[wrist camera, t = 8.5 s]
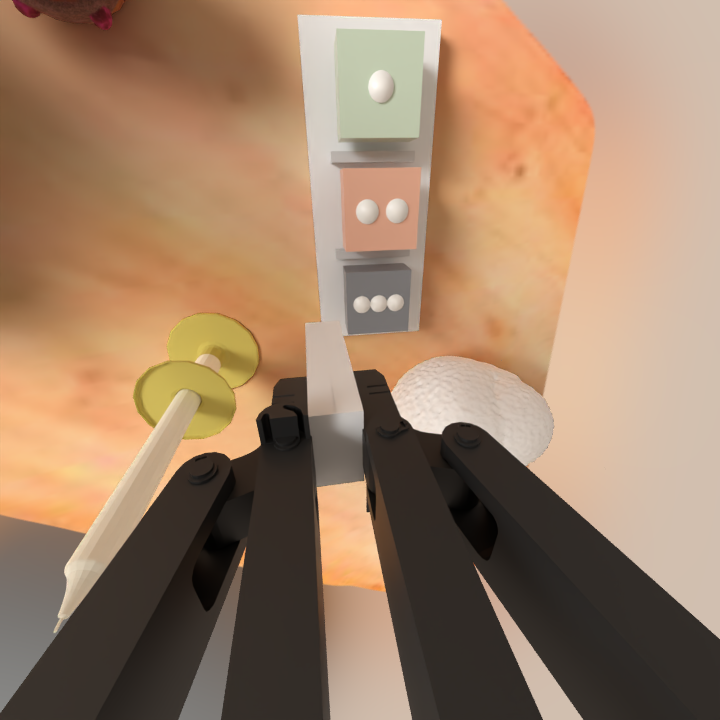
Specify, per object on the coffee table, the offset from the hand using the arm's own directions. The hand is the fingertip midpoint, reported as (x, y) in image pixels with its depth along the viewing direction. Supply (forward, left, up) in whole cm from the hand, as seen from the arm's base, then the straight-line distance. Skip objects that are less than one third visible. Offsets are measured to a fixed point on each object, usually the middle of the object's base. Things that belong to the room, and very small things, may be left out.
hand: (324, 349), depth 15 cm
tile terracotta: (+5, +5, -18) cm, 19 cm away
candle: (-13, -10, -22) cm, 28 cm away
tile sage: (+5, +13, -19) cm, 23 cm away
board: (+5, +5, -22) cm, 23 cm away
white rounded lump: (+14, -17, -22) cm, 32 cm away
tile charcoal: (+5, -3, -19) cm, 20 cm away
